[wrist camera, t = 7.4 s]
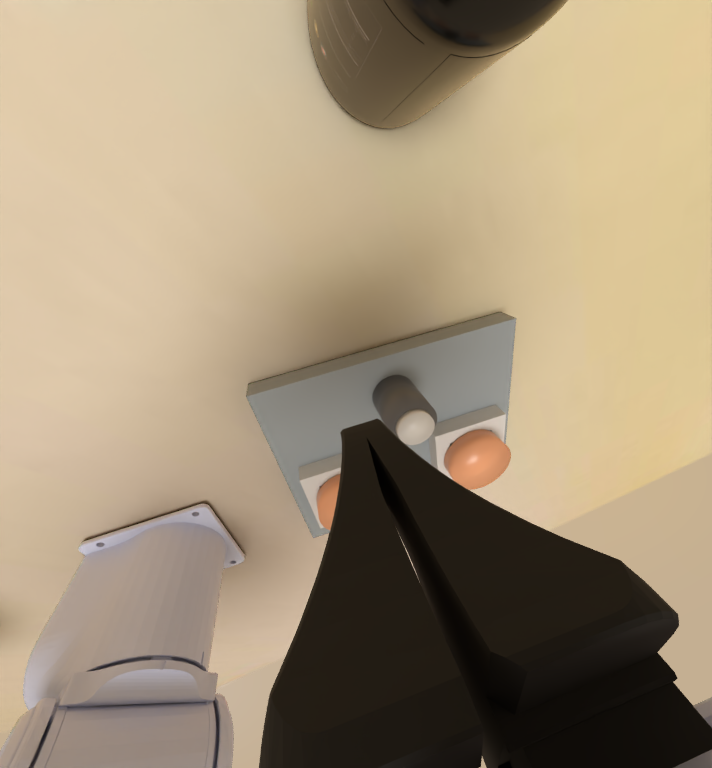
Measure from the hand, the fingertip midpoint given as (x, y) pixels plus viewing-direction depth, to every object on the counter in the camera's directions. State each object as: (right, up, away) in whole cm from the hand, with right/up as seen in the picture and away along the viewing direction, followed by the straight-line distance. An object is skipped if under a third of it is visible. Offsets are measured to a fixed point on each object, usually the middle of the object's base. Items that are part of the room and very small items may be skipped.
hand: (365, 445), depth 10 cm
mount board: (+3, -2, +14) cm, 14 cm away
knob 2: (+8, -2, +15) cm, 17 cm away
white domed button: (+2, +1, +10) cm, 10 cm away
